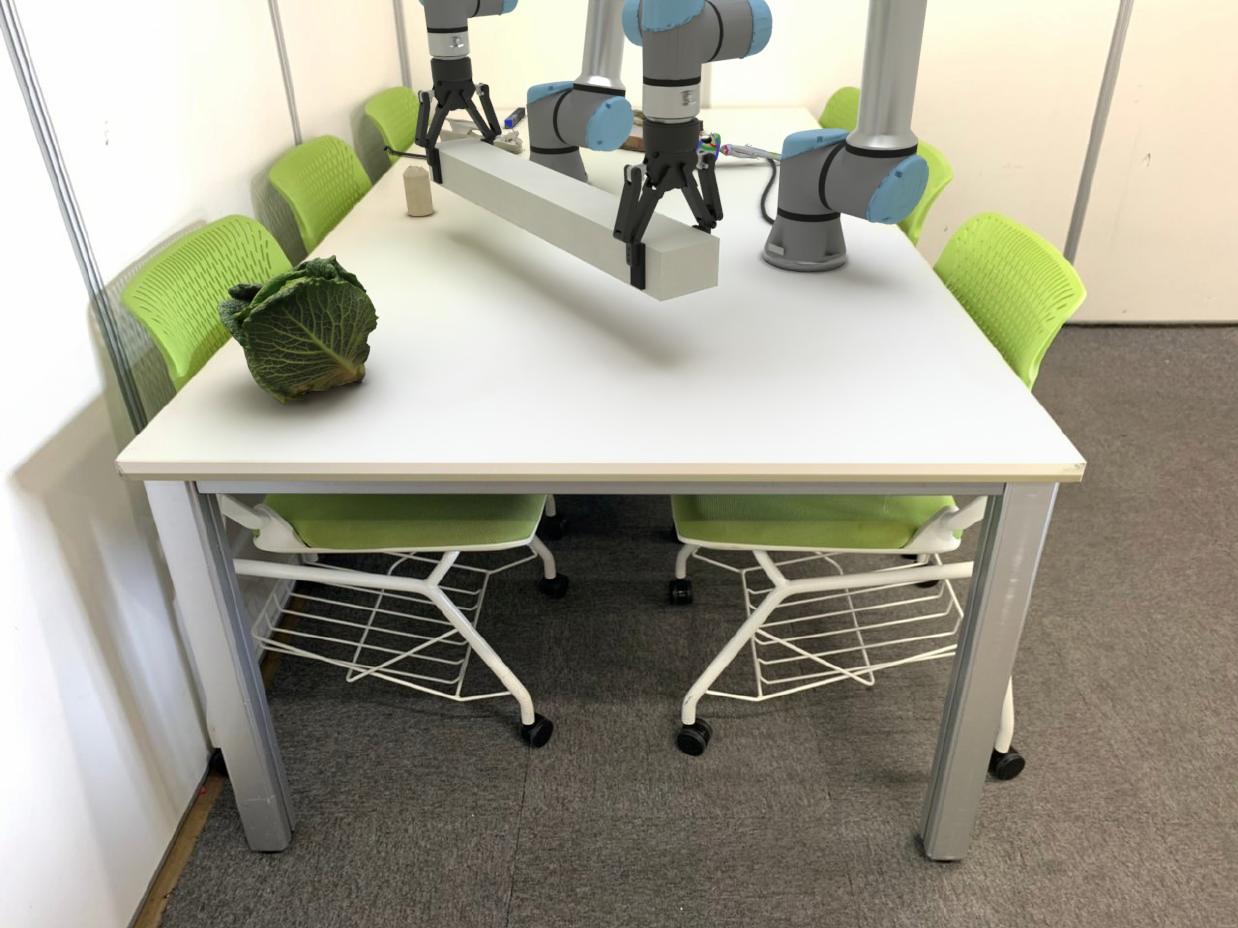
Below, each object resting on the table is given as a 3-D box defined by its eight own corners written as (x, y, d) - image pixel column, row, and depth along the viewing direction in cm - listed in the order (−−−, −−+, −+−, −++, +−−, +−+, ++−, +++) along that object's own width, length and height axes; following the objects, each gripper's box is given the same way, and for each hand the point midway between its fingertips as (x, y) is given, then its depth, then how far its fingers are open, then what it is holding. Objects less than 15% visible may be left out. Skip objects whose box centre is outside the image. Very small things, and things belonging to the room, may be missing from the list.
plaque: (647, 125, 237) (559, 112, 252) (647, 153, 241) (560, 139, 256) (706, 107, 258) (622, 97, 273) (705, 133, 262) (622, 121, 277)
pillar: (525, 107, 285) (511, 120, 268) (525, 114, 286) (511, 128, 269) (518, 107, 285) (503, 120, 268) (518, 114, 286) (504, 128, 270)
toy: (810, 148, 223) (693, 134, 219) (802, 182, 228) (688, 169, 223) (799, 138, 232) (687, 125, 227) (792, 172, 236) (681, 159, 232)
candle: (438, 210, 199) (432, 164, 194) (425, 217, 195) (419, 170, 189) (416, 208, 201) (410, 162, 195) (403, 215, 196) (396, 168, 191)
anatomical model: (438, 112, 249) (525, 110, 245) (443, 146, 254) (528, 145, 250) (420, 123, 236) (511, 122, 233) (426, 159, 241) (515, 158, 238)
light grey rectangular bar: (430, 180, 180) (425, 144, 176) (476, 172, 184) (472, 137, 181) (660, 301, 124) (661, 252, 120) (717, 286, 129) (720, 238, 125)
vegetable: (300, 411, 136) (210, 300, 128) (407, 340, 137) (324, 225, 129) (292, 446, 117) (186, 319, 110) (414, 364, 119) (318, 232, 111)
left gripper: (400, 65, 158) (417, 191, 170) (514, 53, 169) (522, 172, 181) (384, 60, 164) (402, 183, 176) (495, 48, 174) (505, 165, 186)
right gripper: (614, 134, 110) (617, 304, 121) (755, 110, 120) (745, 269, 132) (582, 123, 115) (588, 288, 127) (720, 102, 125) (713, 255, 137)
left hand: (463, 178), depth 178 cm, fingers closed on light grey rectangular bar, 10 cm apart
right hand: (668, 278), depth 129 cm, fingers closed on light grey rectangular bar, 10 cm apart
